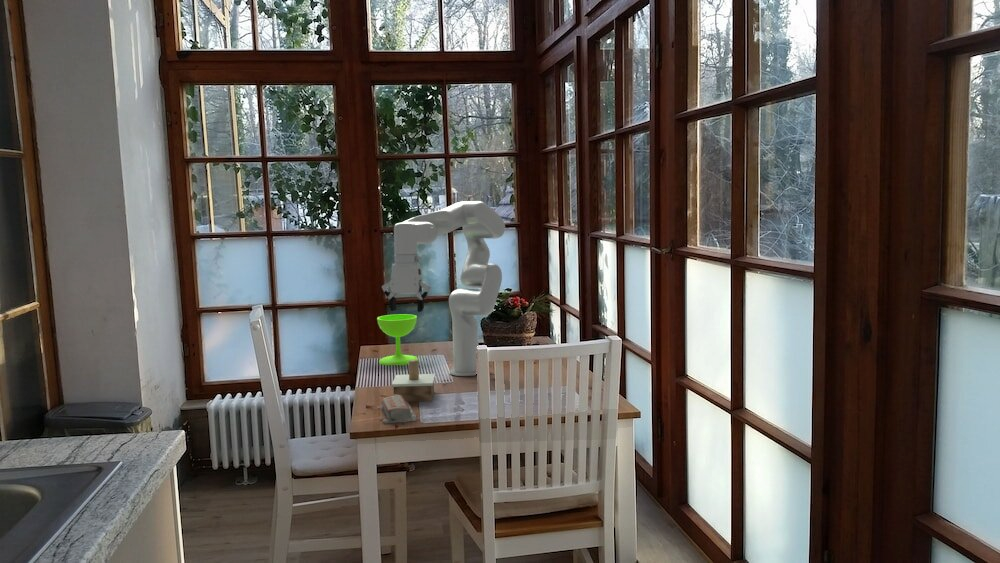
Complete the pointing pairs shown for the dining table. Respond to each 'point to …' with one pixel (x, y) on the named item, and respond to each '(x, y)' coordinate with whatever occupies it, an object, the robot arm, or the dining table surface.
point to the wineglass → (397, 335)
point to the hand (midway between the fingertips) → (406, 311)
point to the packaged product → (397, 410)
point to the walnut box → (415, 393)
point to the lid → (413, 377)
